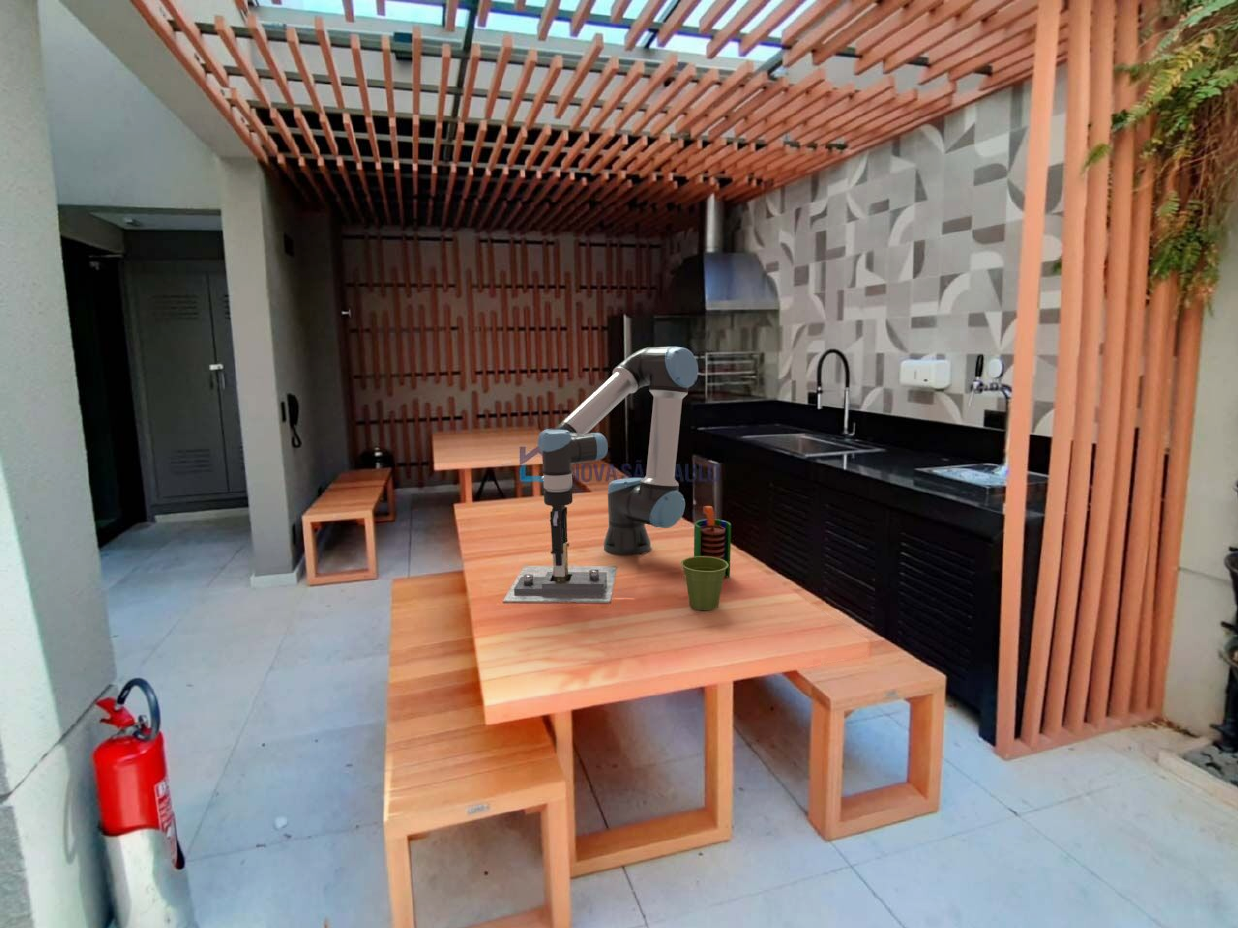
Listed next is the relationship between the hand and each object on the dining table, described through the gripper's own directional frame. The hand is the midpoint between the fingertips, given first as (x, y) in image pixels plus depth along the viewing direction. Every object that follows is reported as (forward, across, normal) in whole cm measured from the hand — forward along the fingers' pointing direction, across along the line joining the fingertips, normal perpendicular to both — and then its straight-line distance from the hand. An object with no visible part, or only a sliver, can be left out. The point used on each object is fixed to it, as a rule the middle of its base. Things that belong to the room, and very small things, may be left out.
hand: (561, 573), depth 178 cm
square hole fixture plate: (+5, -5, 0) cm, 7 cm away
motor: (+5, -11, +41) cm, 43 cm away
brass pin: (+4, 0, 0) cm, 4 cm away
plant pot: (+5, +10, +38) cm, 40 cm away
